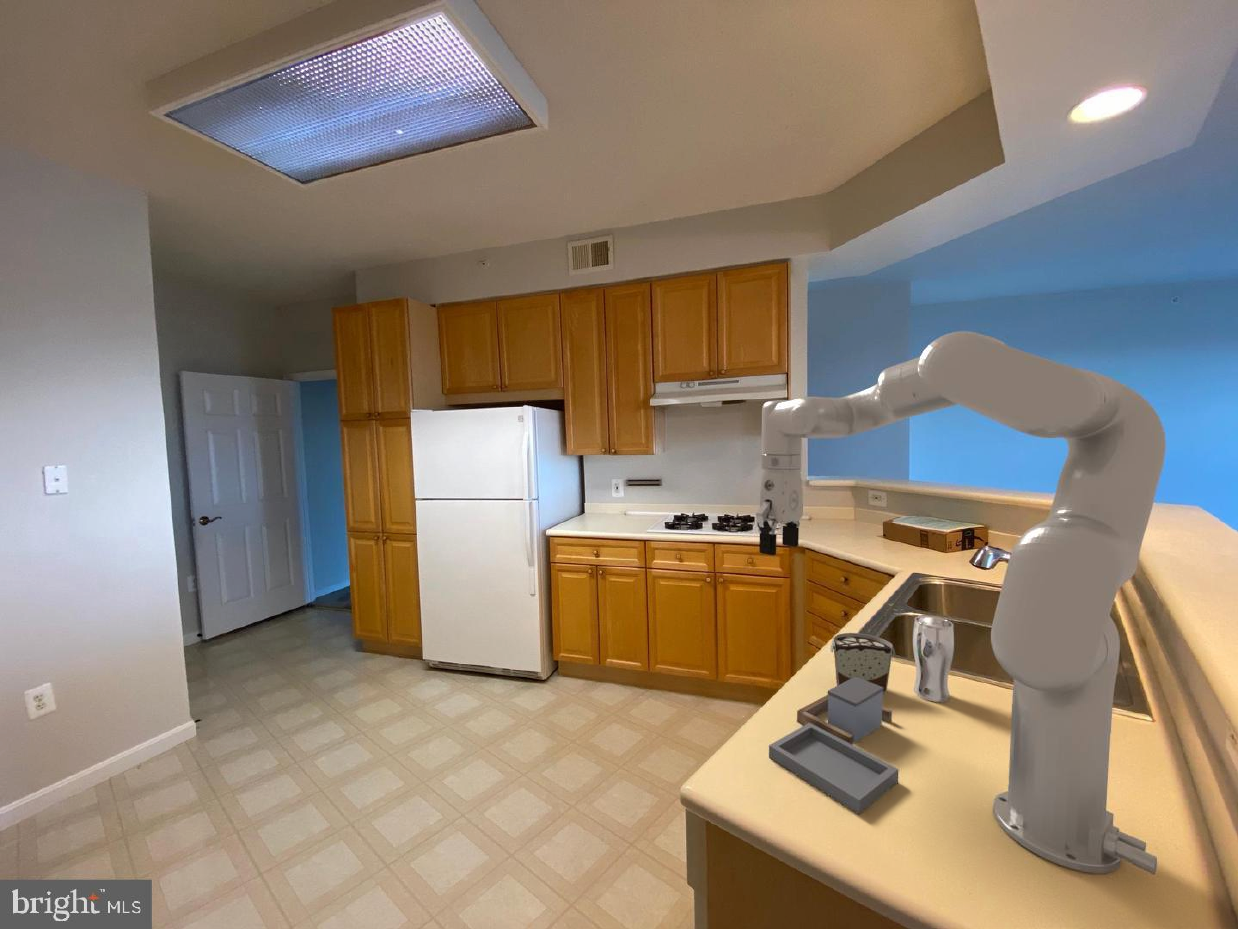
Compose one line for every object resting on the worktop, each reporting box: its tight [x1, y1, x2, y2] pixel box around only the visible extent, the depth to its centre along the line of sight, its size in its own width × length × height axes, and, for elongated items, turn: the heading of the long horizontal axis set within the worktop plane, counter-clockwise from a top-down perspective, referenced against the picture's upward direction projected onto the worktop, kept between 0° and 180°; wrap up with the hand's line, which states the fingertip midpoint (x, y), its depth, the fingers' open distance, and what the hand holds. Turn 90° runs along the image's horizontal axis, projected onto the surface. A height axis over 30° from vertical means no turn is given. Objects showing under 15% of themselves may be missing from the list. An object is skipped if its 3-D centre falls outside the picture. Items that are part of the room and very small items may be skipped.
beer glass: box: [912, 615, 955, 703], centre depth 99 cm, size 7×7×15 cm
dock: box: [796, 694, 893, 746], centre depth 91 cm, size 10×14×2 cm
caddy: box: [826, 676, 884, 744], centre depth 89 cm, size 5×9×7 cm, turn 125°
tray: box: [768, 723, 899, 815], centre depth 78 cm, size 15×11×2 cm
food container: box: [830, 632, 896, 692], centre depth 104 cm, size 12×6×10 cm, turn 84°
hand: (779, 549), depth 99 cm, fingers open, 9 cm apart
